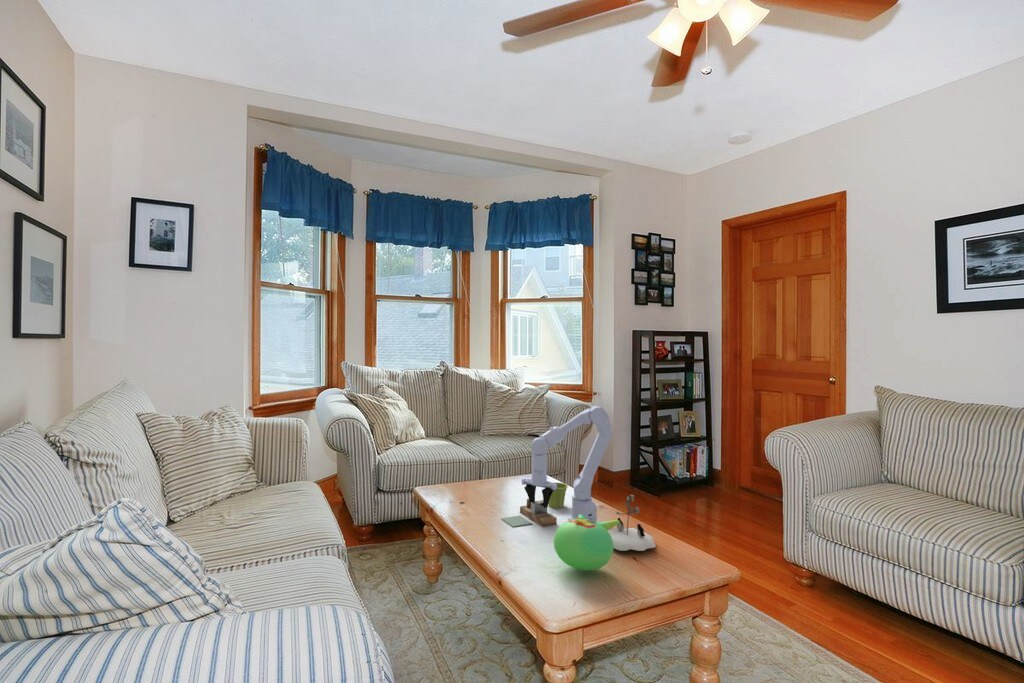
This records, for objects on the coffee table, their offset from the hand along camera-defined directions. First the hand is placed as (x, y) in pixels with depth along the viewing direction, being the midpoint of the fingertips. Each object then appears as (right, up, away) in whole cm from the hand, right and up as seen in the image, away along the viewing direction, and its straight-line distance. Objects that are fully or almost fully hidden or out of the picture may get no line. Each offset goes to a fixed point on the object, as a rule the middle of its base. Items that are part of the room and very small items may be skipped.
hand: (539, 505), depth 202 cm
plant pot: (+8, -6, +16) cm, 19 cm away
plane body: (0, -5, +1) cm, 5 cm away
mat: (-9, -5, -3) cm, 10 cm away
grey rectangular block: (0, -3, 0) cm, 3 cm away
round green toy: (+11, -5, -43) cm, 45 cm away
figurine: (+28, -6, -23) cm, 37 cm away
